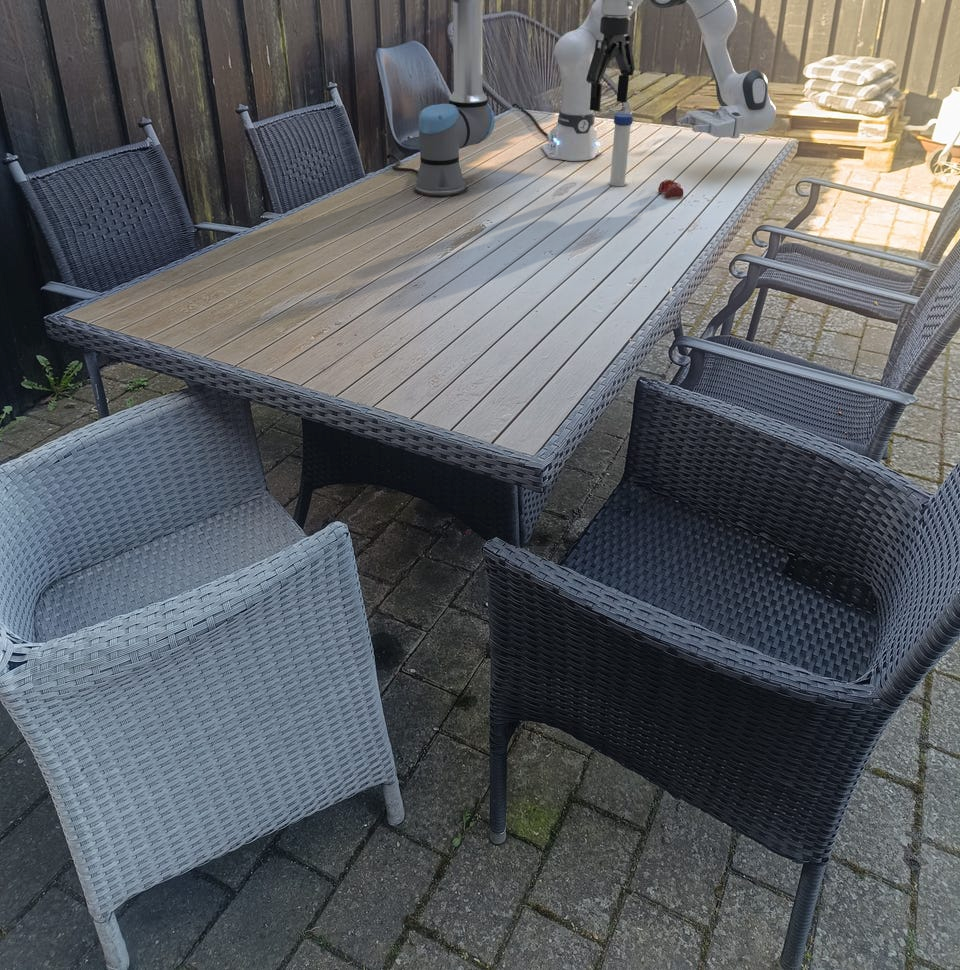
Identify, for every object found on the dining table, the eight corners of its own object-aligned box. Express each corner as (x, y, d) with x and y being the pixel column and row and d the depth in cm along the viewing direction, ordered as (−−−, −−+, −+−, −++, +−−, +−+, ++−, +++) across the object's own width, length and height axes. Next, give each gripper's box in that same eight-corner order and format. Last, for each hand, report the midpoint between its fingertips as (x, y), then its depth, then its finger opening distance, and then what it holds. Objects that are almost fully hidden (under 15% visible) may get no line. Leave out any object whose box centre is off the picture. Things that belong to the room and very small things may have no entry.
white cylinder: (625, 182, 265) (631, 115, 253) (624, 186, 261) (631, 118, 249) (610, 181, 265) (615, 114, 254) (609, 186, 262) (615, 118, 250)
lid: (632, 121, 255) (633, 113, 253) (632, 125, 250) (632, 117, 249) (614, 120, 255) (614, 112, 254) (613, 124, 251) (614, 116, 250)
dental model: (674, 175, 255) (686, 183, 249) (673, 189, 258) (684, 197, 251) (657, 177, 254) (668, 185, 248) (656, 192, 257) (667, 200, 250)
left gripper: (602, 22, 204) (595, 116, 216) (653, 12, 219) (644, 100, 232) (576, 19, 207) (570, 112, 220) (628, 10, 223) (620, 96, 236)
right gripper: (710, 103, 268) (671, 107, 265) (744, 117, 252) (703, 121, 249) (707, 124, 272) (669, 128, 269) (741, 139, 256) (700, 143, 253)
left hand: (608, 106), depth 226 cm, fingers open, 13 cm apart
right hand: (685, 125), depth 259 cm, fingers open, 8 cm apart
